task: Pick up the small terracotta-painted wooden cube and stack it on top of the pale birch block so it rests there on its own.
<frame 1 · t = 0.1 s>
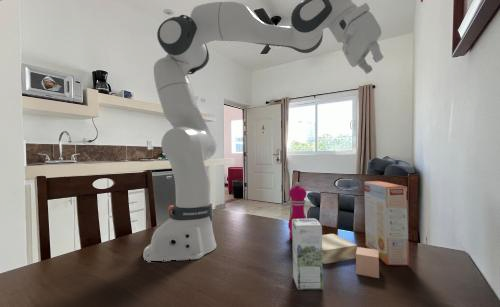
hand: (374, 66, 69), 54 cm above the table, tool tilted 30°, fingers open, 8 cm apart
syrup box: (307, 284, 56), on the table
birch block: (329, 254, 73), on the table
pepper mill: (298, 238, 87), on the table
cracker box: (385, 256, 71), on the table
terracotta cube: (367, 271, 61), on the table
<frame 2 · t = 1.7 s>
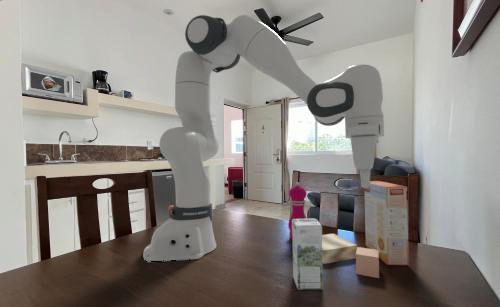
hand: (366, 185, 62), 22 cm above the table, tool pointing down, fingers open, 8 cm apart
nothing on the table moved.
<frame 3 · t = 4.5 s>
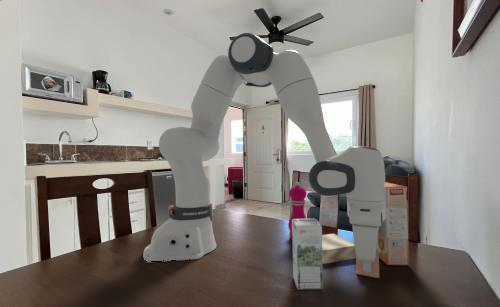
hand: (367, 264, 61), 2 cm above the table, tool pointing down, fingers closed on terracotta cube, 5 cm apart
terracotta cube: (367, 271, 61), on the table, touching gripper
everything else where it was.
when the fingers open (7 cm above the table, at t = 10.6 s): terracotta cube drops 2 cm, resting on birch block.
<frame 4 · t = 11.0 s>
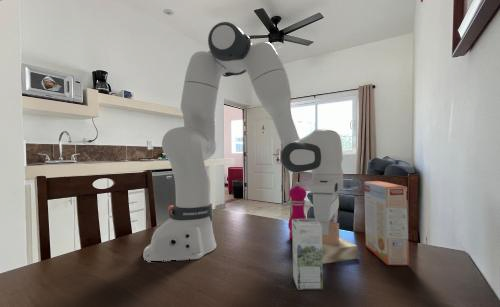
hand: (328, 229, 73), 7 cm above the table, tool pointing down, fingers open, 8 cm apart
birch block: (329, 254, 73), on the table, touching terracotta cube
terracotta cube: (329, 241, 73), point 4 cm above the table, touching birch block
everything else where it was.
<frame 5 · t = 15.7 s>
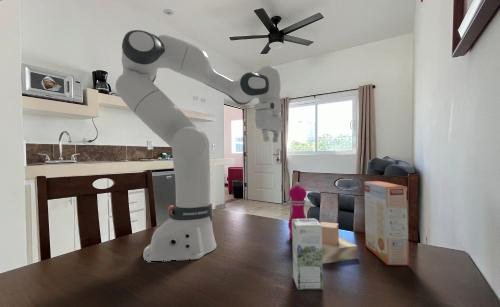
hand: (271, 141, 99), 35 cm above the table, tool pointing down, fingers open, 8 cm apart
nothing on the table moved.
at the end: terracotta cube inside the target area on the birch block (0.2 cm from its centre), point 4.0 cm above the birch block's base; terracotta cube tilted 0°; the gripper is holding nothing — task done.
